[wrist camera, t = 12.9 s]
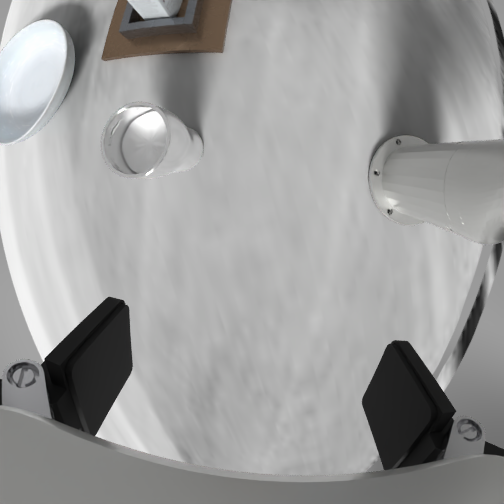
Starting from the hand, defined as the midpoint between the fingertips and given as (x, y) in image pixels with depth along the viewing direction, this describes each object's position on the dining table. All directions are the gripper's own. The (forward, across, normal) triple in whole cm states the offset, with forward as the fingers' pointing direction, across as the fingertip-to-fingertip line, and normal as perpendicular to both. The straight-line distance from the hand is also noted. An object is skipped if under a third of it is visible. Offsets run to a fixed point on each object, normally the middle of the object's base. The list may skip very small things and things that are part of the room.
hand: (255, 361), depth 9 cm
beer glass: (+30, +12, -7) cm, 33 cm away
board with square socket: (+29, +18, -29) cm, 45 cm away
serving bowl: (+29, +39, -18) cm, 52 cm away
